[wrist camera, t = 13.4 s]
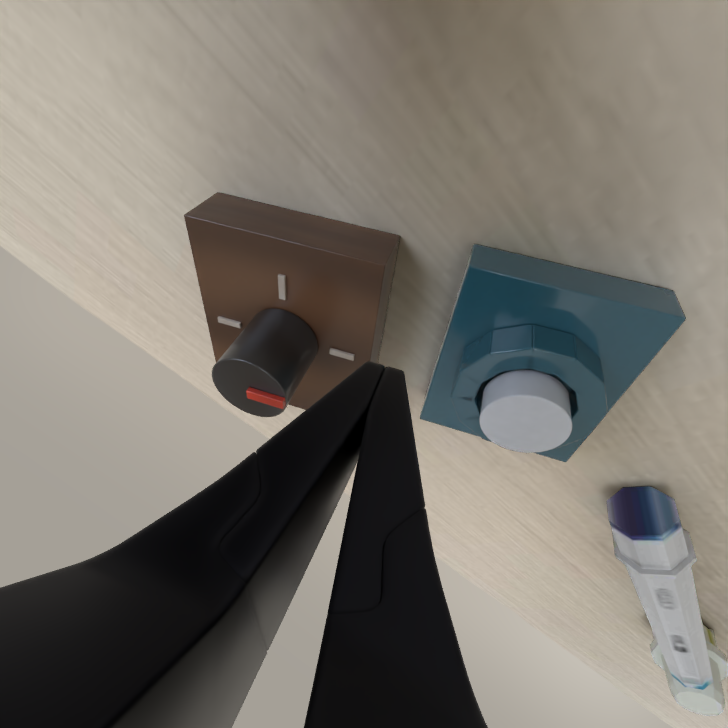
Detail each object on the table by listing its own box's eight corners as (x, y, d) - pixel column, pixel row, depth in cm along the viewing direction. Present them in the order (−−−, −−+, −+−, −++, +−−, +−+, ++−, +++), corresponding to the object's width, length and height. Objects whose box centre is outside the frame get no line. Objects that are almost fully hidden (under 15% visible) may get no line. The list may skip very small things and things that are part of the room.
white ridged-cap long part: (703, 540, 23) (750, 747, 32) (676, 454, 28) (723, 654, 37) (596, 539, 25) (668, 729, 35) (590, 460, 31) (654, 645, 40)
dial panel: (217, 191, 22) (181, 216, 19) (400, 235, 20) (384, 266, 18) (242, 355, 30) (219, 385, 28) (372, 394, 29) (359, 428, 26)
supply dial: (255, 353, 25) (214, 408, 22) (248, 299, 22) (201, 353, 19) (317, 371, 24) (285, 431, 21) (319, 318, 21) (282, 377, 18)
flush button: (497, 359, 19) (495, 385, 18) (585, 383, 18) (589, 411, 17) (472, 412, 22) (468, 438, 21) (548, 434, 21) (549, 462, 20)
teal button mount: (473, 242, 19) (463, 287, 17) (674, 289, 18) (700, 346, 15) (425, 394, 27) (413, 441, 24) (564, 434, 26) (567, 489, 23)
